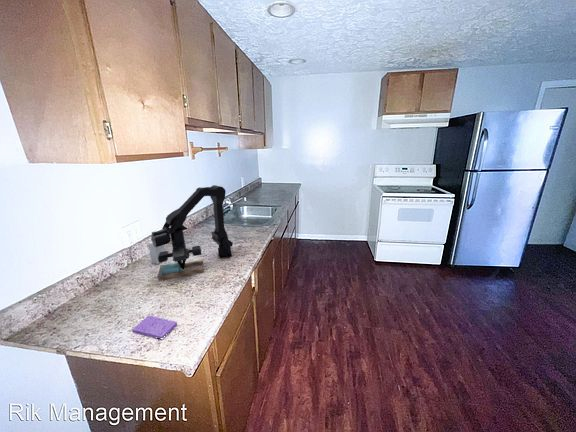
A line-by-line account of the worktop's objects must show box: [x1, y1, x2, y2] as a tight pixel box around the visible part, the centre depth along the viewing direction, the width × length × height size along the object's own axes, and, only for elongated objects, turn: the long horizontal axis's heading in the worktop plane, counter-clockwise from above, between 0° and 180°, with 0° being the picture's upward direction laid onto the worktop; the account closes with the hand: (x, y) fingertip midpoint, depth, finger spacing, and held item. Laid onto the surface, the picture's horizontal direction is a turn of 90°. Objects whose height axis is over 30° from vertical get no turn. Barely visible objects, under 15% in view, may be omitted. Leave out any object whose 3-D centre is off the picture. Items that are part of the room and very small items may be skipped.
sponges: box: [131, 314, 178, 338], centre depth 79 cm, size 7×13×2 cm, turn 74°
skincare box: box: [148, 240, 166, 265], centre depth 123 cm, size 6×4×12 cm
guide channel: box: [157, 259, 205, 282], centre depth 114 cm, size 20×9×3 cm, turn 111°
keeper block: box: [162, 262, 182, 275], centre depth 113 cm, size 7×5×4 cm
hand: (183, 269), depth 115 cm, fingers closed
